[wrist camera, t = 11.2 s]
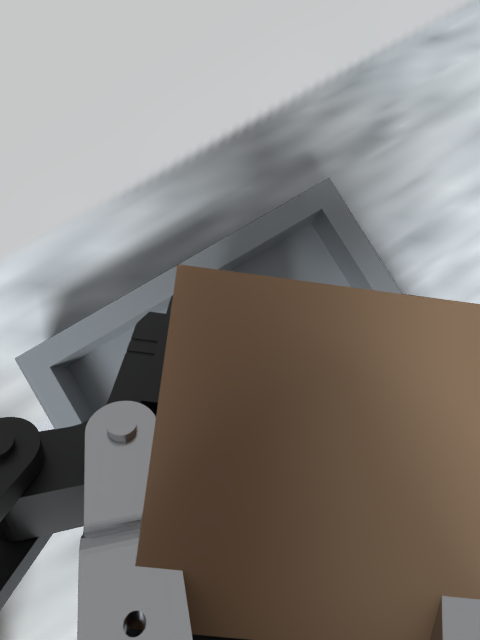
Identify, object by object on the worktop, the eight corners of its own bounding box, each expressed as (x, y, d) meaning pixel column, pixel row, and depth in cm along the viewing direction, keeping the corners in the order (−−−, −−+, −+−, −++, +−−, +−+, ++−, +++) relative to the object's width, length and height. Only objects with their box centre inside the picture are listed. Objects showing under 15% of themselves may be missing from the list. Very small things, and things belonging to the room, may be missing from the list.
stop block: (320, 341, 16) (505, 307, 6) (308, 464, 15) (487, 660, 5) (201, 326, 15) (176, 264, 5) (185, 450, 15) (126, 627, 5)
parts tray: (313, 203, 21) (329, 177, 18) (442, 410, 20) (481, 418, 17) (45, 358, 20) (14, 358, 17) (175, 585, 19) (167, 627, 16)
